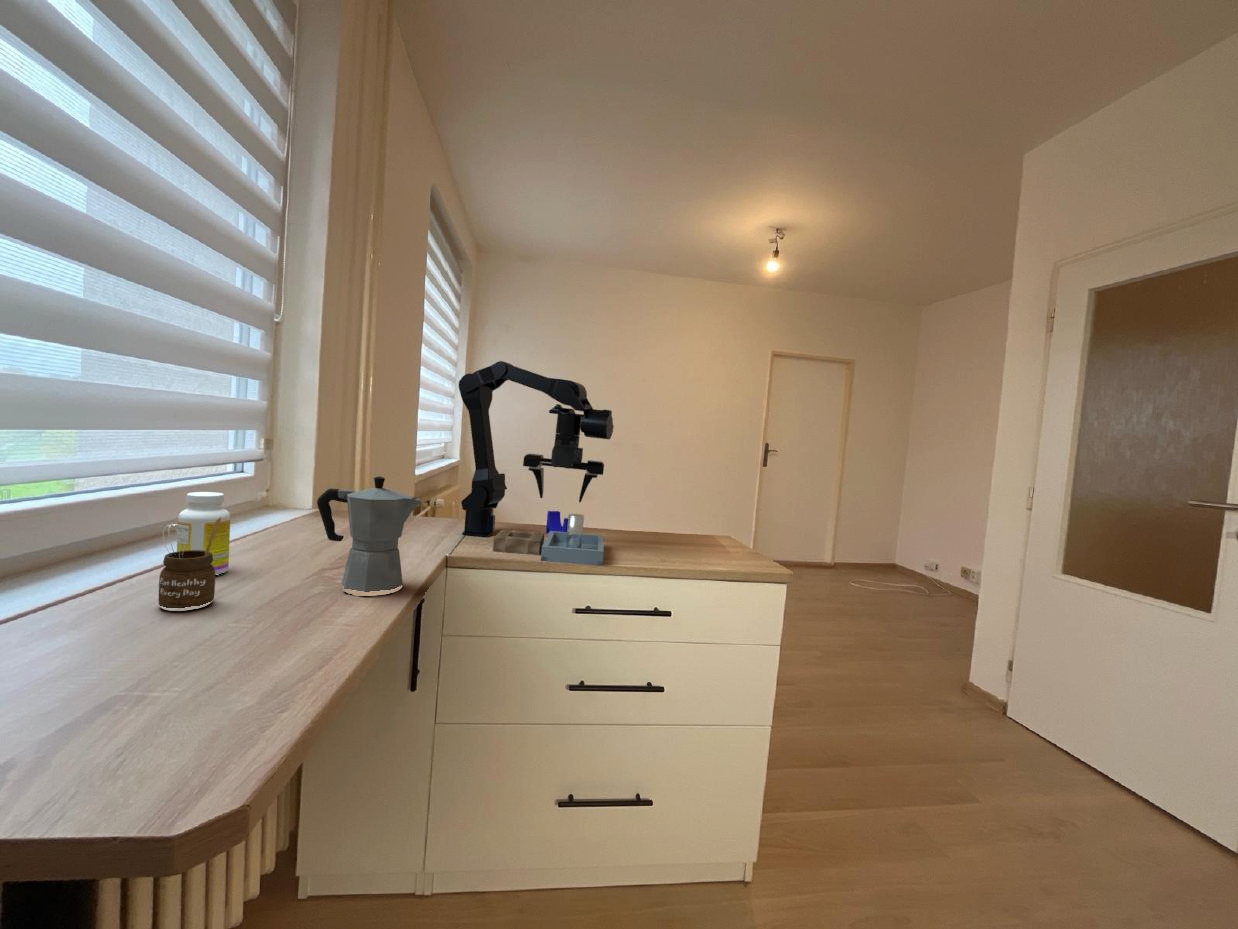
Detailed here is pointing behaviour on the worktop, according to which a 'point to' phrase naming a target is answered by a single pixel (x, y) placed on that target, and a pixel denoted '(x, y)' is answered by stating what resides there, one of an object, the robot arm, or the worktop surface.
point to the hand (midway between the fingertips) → (560, 500)
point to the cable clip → (555, 522)
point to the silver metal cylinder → (575, 530)
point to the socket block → (518, 542)
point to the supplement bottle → (205, 527)
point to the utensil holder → (187, 575)
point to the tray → (573, 549)
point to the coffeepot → (370, 534)
